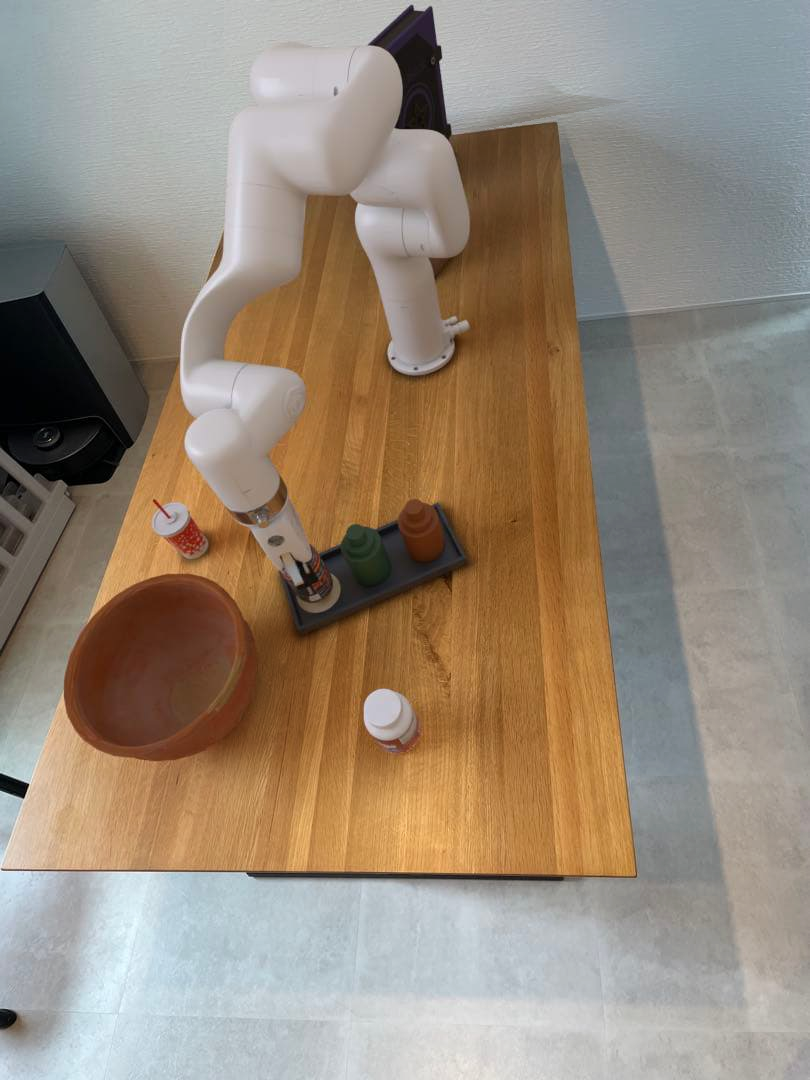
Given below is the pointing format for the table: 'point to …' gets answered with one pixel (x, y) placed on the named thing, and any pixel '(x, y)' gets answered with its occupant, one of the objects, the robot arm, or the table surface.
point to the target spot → (325, 603)
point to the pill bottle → (391, 721)
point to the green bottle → (366, 555)
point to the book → (417, 70)
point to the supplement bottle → (317, 589)
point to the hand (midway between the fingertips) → (301, 564)
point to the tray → (400, 579)
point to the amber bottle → (421, 531)
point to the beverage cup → (179, 529)
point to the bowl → (161, 670)
